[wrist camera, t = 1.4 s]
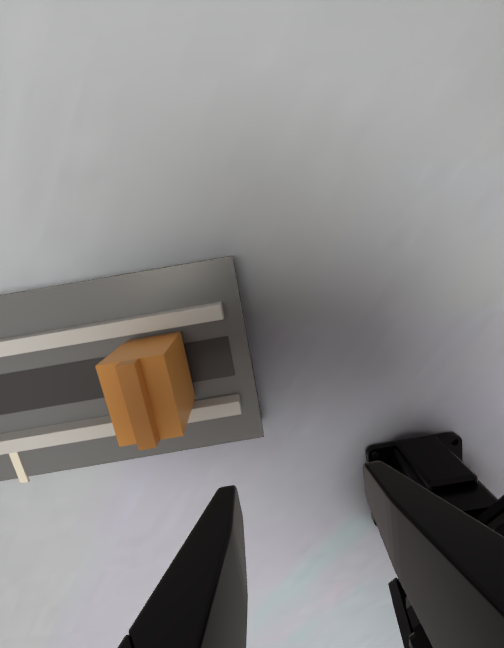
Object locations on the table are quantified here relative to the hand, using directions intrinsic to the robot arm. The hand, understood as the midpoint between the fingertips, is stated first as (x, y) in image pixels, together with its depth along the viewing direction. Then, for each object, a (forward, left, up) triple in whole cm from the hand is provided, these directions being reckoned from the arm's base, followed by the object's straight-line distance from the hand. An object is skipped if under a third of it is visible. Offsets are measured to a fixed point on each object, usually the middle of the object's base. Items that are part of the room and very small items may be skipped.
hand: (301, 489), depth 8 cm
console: (0, +12, -13) cm, 18 cm away
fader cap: (0, +6, -11) cm, 12 cm away
